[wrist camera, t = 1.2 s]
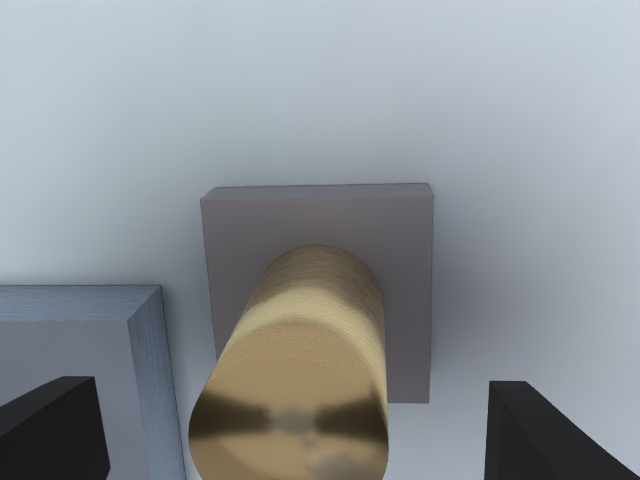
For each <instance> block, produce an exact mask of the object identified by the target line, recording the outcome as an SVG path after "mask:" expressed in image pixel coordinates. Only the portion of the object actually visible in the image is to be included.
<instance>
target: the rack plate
mask: <svg viewBox="0 0 640 480" xmlns="http://www.w3.org/2000/svg"><path fill="white" fill-rule="evenodd" d="M62 376H94V377H95V382H96V388H97V394H98V399H99V405H100V410H101V416H102V421H103V427H104V433H105V438H106V444H107V449H108V455H109V460H110V466H111V469H110V472H109V474H108V476H107V479H106V480H186V478H185V470H184V462H183V455H182V447H181V439H180V432H179V424H178V417H177V409H176V401H175V394H174V386H173V379H172V371H171V363H170V356H169V348H168V341H167V333H166V325H165V318H164V310H163V303H162V295H161V287H160V285H105V286H0V407H1V406H3V405H4V404H6V403H8V402H10V401H12V400H14V399H16V398H18V397H20V396H22V395H23V394H25V393H27V392H29V391H31V390H33V389H35V388H37V387H39V386H41V385H43V384H46V383H48V382H50V381H52V380H55V379H57V378H60V377H62Z"/></svg>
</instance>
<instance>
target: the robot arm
mask: <svg viewBox="0 0 640 480" xmlns="http://www.w3.org/2000/svg"><path fill="white" fill-rule="evenodd" d="M110 469H111V466H110V460H109V455H108V449H107V444H106V438H105V433H104V427H103V421H102V416H101V410H100V405H99V399H98V394H97V388H96V382H95V377H94V376H62V377H60V378H57V379H55V380H52V381H50V382H48V383H46V384H43V385H41V386H39V387H37V388H35V389H33V390H31V391H29V392H27V393H25V394H23V395H22V396H20V397H18V398H16V399H14V400H12V401H10V402H8V403H6V404H4V405H3V406H1V407H0V480H106V479H107V476H108V474H109V472H110ZM484 480H640V477H639V476H637V475H636V474H635V473H633V472H632V471H631V470H629V469H628V468H627V467H626V466H624V465H623V464H622V463H621V462H619V461H618V460H617V459H615V458H614V457H613V456H612V455H610V454H609V453H608V452H607V451H606V450H604V449H603V448H602V447H601V446H599V445H598V444H597V443H596V442H595V441H593V440H592V439H591V438H590V437H589V436H588V435H586V434H585V433H584V432H583V431H582V430H581V429H579V428H578V427H577V426H576V425H575V424H574V423H572V422H571V421H570V420H569V419H568V418H567V417H566V416H565V415H563V414H562V413H561V412H560V411H559V410H558V409H557V408H556V407H554V406H553V405H552V404H551V403H550V402H549V401H548V400H547V399H546V398H544V397H543V396H542V395H541V394H540V393H539V392H538V391H537V390H535V389H534V388H533V387H532V386H531V385H530V384H528V383H527V382H526V381H490V383H489V401H488V419H487V437H486V455H485V474H484Z"/></svg>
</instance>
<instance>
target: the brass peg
mask: <svg viewBox="0 0 640 480" xmlns="http://www.w3.org/2000/svg"><path fill="white" fill-rule="evenodd" d="M188 434H189V447H190V452H191V456H192V459H193V462H194V464H195V467H196V469H197V471H198V473H199V475H200V476H201V478H202V479H203V480H382V478H383V476H384V473H385V470H386V466H387V462H388V451H389V444H388V414H387V385H386V355H385V325H384V301H383V294H382V290H381V287H380V285H379V282H378V280H377V278H376V277H375V275H374V273H373V272H372V271H371V269H370V268H369V267H368V266H367V265H366V264H365V263H364V262H363V261H362V260H361V259H359V258H358V257H357V256H355V255H353V254H352V253H350V252H348V251H346V250H344V249H341V248H338V247H335V246H330V245H323V244H312V245H304V246H299V247H296V248H293V249H291V250H289V251H287V252H285V253H283V254H282V255H280V256H279V257H277V258H276V259H275V260H274V261H273V262H272V263H271V264H270V265H269V266H268V267H267V268H266V270H265V271H264V273H263V274H262V276H261V278H260V280H259V282H258V284H257V286H256V288H255V290H254V292H253V294H252V296H251V297H250V299H249V301H248V303H247V305H246V307H245V309H244V311H243V313H242V315H241V317H240V319H239V321H238V323H237V325H236V326H235V328H234V330H233V332H232V334H231V336H230V338H229V340H228V342H227V344H226V346H225V348H224V350H223V352H222V354H221V355H220V357H219V359H218V361H217V363H216V365H215V367H214V369H213V371H212V373H211V375H210V377H209V379H208V381H207V383H206V385H205V386H204V388H203V390H202V392H201V394H200V396H199V398H198V400H197V402H196V404H195V407H194V409H193V411H192V415H191V419H190V423H189V433H188Z"/></svg>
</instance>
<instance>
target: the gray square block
mask: <svg viewBox="0 0 640 480" xmlns="http://www.w3.org/2000/svg"><path fill="white" fill-rule="evenodd" d="M200 204H201V213H202V223H203V232H204V242H205V251H206V261H207V271H208V280H209V290H210V299H211V309H212V318H213V328H214V338H215V347H216V357H217V361H218V359H219V357H220V355H221V354H222V352H223V350H224V348H225V346H226V344H227V342H228V340H229V338H230V336H231V334H232V332H233V330H234V328H235V326H236V325H237V323H238V321H239V319H240V317H241V315H242V313H243V311H244V309H245V307H246V305H247V303H248V301H249V299H250V297H251V296H252V294H253V292H254V290H255V288H256V286H257V284H258V282H259V280H260V278H261V276H262V274H263V273H264V271H265V270H266V268H267V267H268V266H269V265H270V264H271V263H272V262H273V261H274V260H275V259H276V258H277V257H279V256H280V255H282V254H283V253H285V252H287V251H289V250H291V249H293V248H296V247H299V246H304V245H312V244H323V245H330V246H335V247H338V248H341V249H344V250H346V251H348V252H350V253H352V254H353V255H355V256H357V257H358V258H359V259H361V260H362V261H363V262H364V263H365V264H366V265H367V266H368V267H369V268H370V269H371V271H372V272H373V273H374V275H375V277H376V278H377V280H378V282H379V285H380V287H381V290H382V294H383V301H384V325H385V355H386V385H387V403H429V387H430V333H431V280H432V226H433V194H432V192H431V189H430V187H429V184H428V183H410V184H360V185H311V186H262V187H215V188H214V189H213V190H211V191H210V192H209V193H208V194H207V195H205V196H204V197H203V198H202V199H200Z"/></svg>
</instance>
